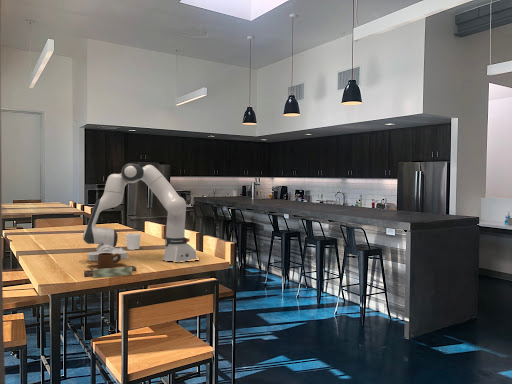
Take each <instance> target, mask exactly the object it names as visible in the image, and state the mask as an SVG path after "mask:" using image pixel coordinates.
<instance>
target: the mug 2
mask: <svg viewBox="0 0 512 384" xmlns="http://www.w3.org/2000/svg"><path fill="white" fill-rule="evenodd" d="M141 235H142V234H141V233H134V232H133V233H127V234H125V235H124V242H125V245H126V247H127V250H128V251H136V250H135V249H139V250H140V243H141Z"/></svg>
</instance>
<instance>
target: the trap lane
mask: <svg viewBox="0 0 512 384" xmlns="http://www.w3.org/2000/svg"><path fill="white" fill-rule="evenodd" d="M89 268H90V269H89V270H84V271H83V276H84V278H90V277H91V278H93V279H95V278H98V279H99V278H110V277H111V278H112V277H114V278H115V277H123V276H122V275H130V276H133V272H132V271H136V272H137V267H136V266H135V265H127V264H124V266H123V267H113V268H108V269H98V268H96V269H95V268H94V266H90V267H89Z"/></svg>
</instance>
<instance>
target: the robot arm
mask: <svg viewBox="0 0 512 384" xmlns="http://www.w3.org/2000/svg"><path fill="white" fill-rule="evenodd" d="M120 172H121V173H111V174H110V175H108V177H107V180H106V181H105V186H104V189H103V191H104V192H103V194H102V196H101V198H98V199H97V200H96V201H95V203H94V205H93V209H92V211H91V214H90V216H89V219H88V221H87V222H88V223H87V225H86V226H85V228H84V231H83V234H82V238H83V241H84V242H85V244H87V245H97V247H96V249H95V251H90V252H88V254H86V256H87V257H88V258H87V259H88V261H91V262H92V261H94V262H95V261H98V254H100V253H112V254H113V255H114V254H116V253H118V254H120V256H121V259H120V260H127V257H128V252H127V251H126V250H124V249H123V247H116V246H117V243H118V240H119V239H118V233H117V231H116V229H114V228H111V227H110V228H109V227H101V226H100V227H99V226H96V224H97V221H98V218H99V215H100V213H101V212H102V211H104V210H107V209H112V208H116V207H118V206H119V205H121V204H122V202H123V199H124V194H125V187H126V186H128V185H129V186H130V185H135V184H137V183H138V182H139V181H142V182H143V183H145V184H146V185H147V187H148V188H149V189H150V191H152V193H153V194H154V195H155V196H156V198H157V199H158V200H159V202H160V204H161V205H162V206H163V208H164V209H165V210H166V212H167V218H166V219H167V220H166V231H165V233H166V235H165V239H164V253H163V257H162V261H163V260H166V261H165V262H167V261H176V262H180V261H188V260H191V259H197V258H196V256H197V252H196V248H194V247H192V245H190V244H189V242H190V240H191V239H190V238H186V237H185V232H186V231H185V229H186V227H185V226H186V214H187V203H186V202H187V201H186V200H185V199H184V197H182V196H180V195H179V194H178V193H177V191H176V190H175V189H174V187H173V186H172V184H171V183H170V182H169V181H168V180H167V178H166V177H165V176H164V175H163V174H162V173H161V172H160V171H159V169H158V168H156V167H155V165H152V164H147V165H145V166H140V165H139V164H138V165H137V164H136V163H126V164H124V165H123V166H122V169H121V171H120ZM117 258H118V256H116V257H114V258H113V260H117Z"/></svg>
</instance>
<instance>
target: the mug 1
mask: <svg viewBox="0 0 512 384" xmlns="http://www.w3.org/2000/svg"><path fill="white" fill-rule="evenodd" d="M116 256H118V258H117V260H113V258H114V257H116ZM121 260H122V259H121V256H120V254H118V253H116V254H114V255H113V254H112V253H100V254H98V260H97V269H108V268H114V265H115V264H117V263H119V262H120V261H121Z"/></svg>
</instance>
